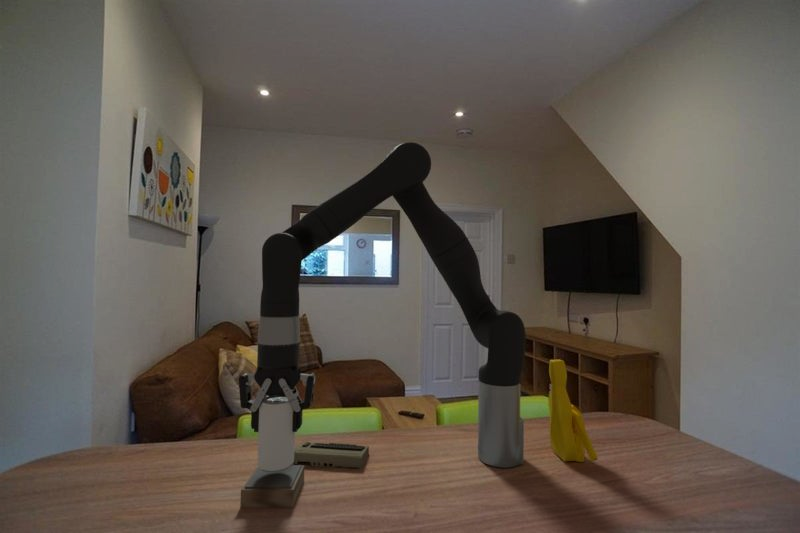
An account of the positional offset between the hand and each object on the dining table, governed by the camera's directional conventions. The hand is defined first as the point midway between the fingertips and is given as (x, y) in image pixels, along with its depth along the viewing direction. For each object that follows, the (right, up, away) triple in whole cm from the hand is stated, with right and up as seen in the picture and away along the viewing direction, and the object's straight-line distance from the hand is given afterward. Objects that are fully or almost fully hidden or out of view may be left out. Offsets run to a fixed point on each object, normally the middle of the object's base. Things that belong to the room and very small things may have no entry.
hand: (276, 430), depth 71 cm
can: (0, -6, 0) cm, 6 cm away
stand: (0, -11, -1) cm, 11 cm away
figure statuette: (+61, -13, +17) cm, 65 cm away
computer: (+8, -13, +14) cm, 20 cm away
